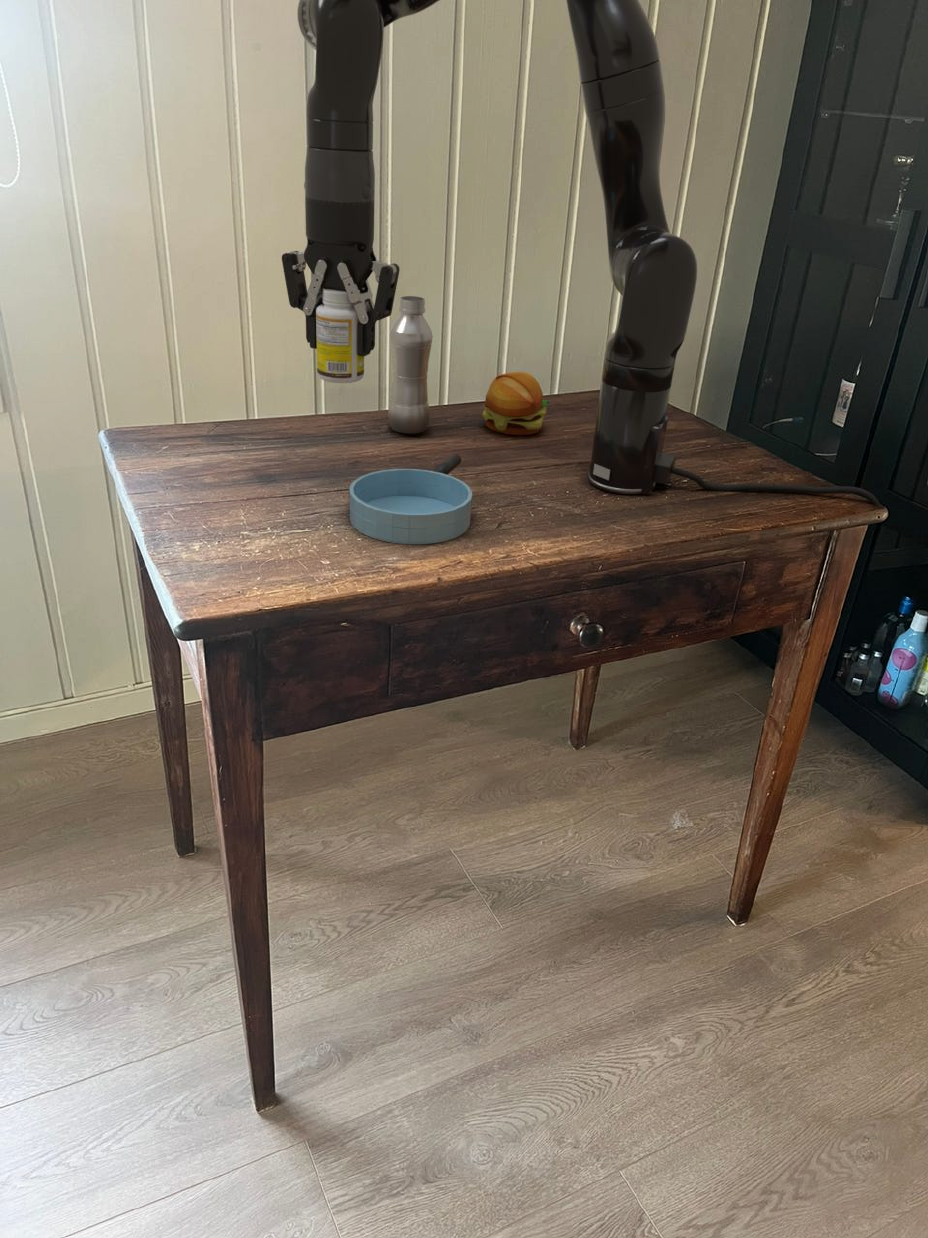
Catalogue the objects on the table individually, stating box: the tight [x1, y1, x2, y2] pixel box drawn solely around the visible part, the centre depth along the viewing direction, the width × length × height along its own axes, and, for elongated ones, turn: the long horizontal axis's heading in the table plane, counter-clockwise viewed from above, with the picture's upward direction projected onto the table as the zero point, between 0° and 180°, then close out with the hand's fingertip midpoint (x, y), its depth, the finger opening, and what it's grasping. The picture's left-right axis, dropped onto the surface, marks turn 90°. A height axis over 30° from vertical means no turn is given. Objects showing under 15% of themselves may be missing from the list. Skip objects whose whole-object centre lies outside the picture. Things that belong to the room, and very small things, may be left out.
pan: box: [348, 468, 473, 545], centre depth 117 cm, size 15×15×4 cm
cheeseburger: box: [482, 371, 550, 436], centre depth 150 cm, size 10×11×10 cm
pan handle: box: [432, 453, 462, 475], centre depth 126 cm, size 9×2×2 cm, turn 159°
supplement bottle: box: [316, 288, 365, 384], centre depth 110 cm, size 6×6×10 cm
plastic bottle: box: [387, 295, 434, 435], centre depth 143 cm, size 6×7×20 cm
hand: (340, 350), depth 111 cm, fingers closed on supplement bottle, 5 cm apart
